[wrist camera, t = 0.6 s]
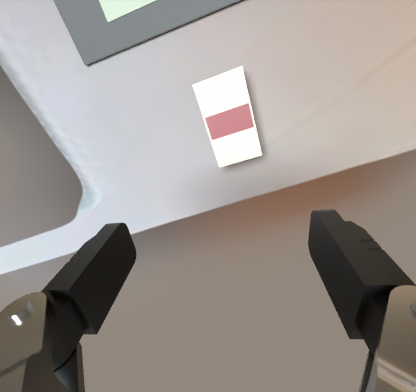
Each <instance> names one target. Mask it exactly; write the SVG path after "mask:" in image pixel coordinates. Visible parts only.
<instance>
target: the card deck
mask: <svg viewBox="0 0 416 392" xmlns="http://www.w3.org/2000/svg"><path fill="white" fill-rule="evenodd" d="M193 88H194V91H195V94H196V97H197V101H198V104H199V107H200V110H201V113H202V116H203V119H204V122H205V125H206V128H207V131H208V134H209V137H210V141H211V144H212V147H213V150H214V153H215V156H216V159H217V162H218V165H219V168H220V167H224V166H227V165H230V164H234V163H237V162H241V161H244V160H248V159H251V158H255V157H258V156H262V152H261V147H260V143H259V138H258V134H257V129H256V125H255V121H254V116H253V112H252V107H251V103H250V98H249V94H248V90H247V85H246V81H245V76H244V72H243V67H242V66H240V67H238V68H235V69H233V70H230V71H227V72H225V73H222V74H220V75H217V76H214V77H212V78H209V79H207V80H204V81H201V82H199V83H196V84H194V85H193Z"/></svg>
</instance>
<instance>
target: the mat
mask: <svg viewBox="0 0 416 392" xmlns="http://www.w3.org/2000/svg"><path fill="white" fill-rule="evenodd" d="M239 1H241V0H54V2H55V4H56V6H57V8H58V11H59V13H60V15H61V17H62V19H63V21H64V23H65V25H66V27H67V29H68V31H69V33H70V35H71V37H72V39H73V41H74V44H75V46H76V48H77V50H78V52H79V54H80V56H81V58H82V60H83V62H84V64H85V65H90V64H92V63H94V62H97V61H99V60H101V59H104V58H106V57H109V56H111V55H113V54H116V53H118V52H120V51H123V50H125V49H128V48H130V47H132V46H135V45H137V44H139V43H142V42H144V41H147V40H149V39H151V38H154V37H156V36H158V35H161V34H163V33H166V32H168V31H170V30H173V29H175V28H177V27H180V26H182V25H185V24H187V23H189V22H192V21H194V20H196V19H199V18H201V17H204V16H206V15H208V14H211V13H213V12H215V11H218V10H220V9H223V8H225V7H227V6H230V5H232V4H234V3H237V2H239Z"/></svg>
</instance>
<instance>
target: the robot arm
mask: <svg viewBox="0 0 416 392" xmlns="http://www.w3.org/2000/svg"><path fill="white" fill-rule="evenodd" d="M308 241H309V242H308V245H309V251H310V255H311V258H312V260H313V262H314V264H315V266H316V268H317V270H318V272H319V274H320V277H321V279H322V281H323V283H324V285H325V287H326V290H327V292H328V294H329V296H330V298H331V300H332V302H333V304H334V306H335V309H336V311H337V313H338V315H339V317H340V319H341V322H342V324H343V326H344V328H345V330H346V332H347V334H348V336H349V339H364V341H365V343H366V345H367V346H368V348H369V352H368V354H367V359H366V363H365V367H364V371H363V375H362V379H361V384H360V388H359V392H416V285H415V284H414V283H413V282H412V280H410V278H409V277H408V276H407V275H406V274H405V273H404V272H403V271H402V270H401V268H399V266H398V265H397V264H396V263H395V262H394V261H393V260H392V259H391V258H390V257H389V256H388V255H387V253H386V252H385V251H384V250H382V249H381V247H380V246H379V245H378V243H377V242H376V241H374V239H373V238H372V237H371V236H370V235H369V234H368V233H367V231H366V230H365V229H363V228H361V227H360V226H358V225H356V224H355V223H353V222H351V221H344V220H343V219H342V218H341V216H340V215H339V214H338V213H337V212H336V211H335V210H334V209H331V210H317V211H312V213H311V221H310V231H309V240H308ZM135 259H136V249H135V246H134V243H133V241H132V238H131V235H130V233H129V230H128V227H127V225H126V224H125V223H112V224H106V225H105V226H104V227H103V228H102V229H101V230H100V231H99V232H98V233H97V235H96V236H94V237H93V238H91V239H90V240H89V241H87V242H86V243H84V245H83V246H82V247H81V248H80V249H79V250H78V251H77V254H75V255H74V256H73V257H72V258H71V259H70V262H67V263H66V264H65V266H64V267H63V268H62V269H61V270H60V271H59V272H58V273H57V274H56V276H55V277H54V278H53V279H52V280H51V281H50V282H49V283H48V285H47V286H46V287H45V288H44V289H43V290H42V291H41V292H34V293H30V294H27V295H25V296H22V297H21V298H19V299H17V300H15V301H13V302H12V303H10V304H9V305H8V306H7V307H5V308H4V309H3V310H2V311H1V312H0V392H85V385H84V370H83V357H82V346H81V343H80V342H79V341H80V339H81V337H82V336H83V334H97V333H98V331H99V329H100V327H101V326H102V324H103V322H104V320H105V318H106V316H107V314H108V312H109V310H110V308H111V306H112V305H113V303H114V301H115V299H116V297H117V295H118V293H119V291H120V289H121V288H122V286H123V284H124V282H125V280H126V278H127V276H128V274H129V272H130V270H131V269H132V267H133V265H134V263H135Z"/></svg>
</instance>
